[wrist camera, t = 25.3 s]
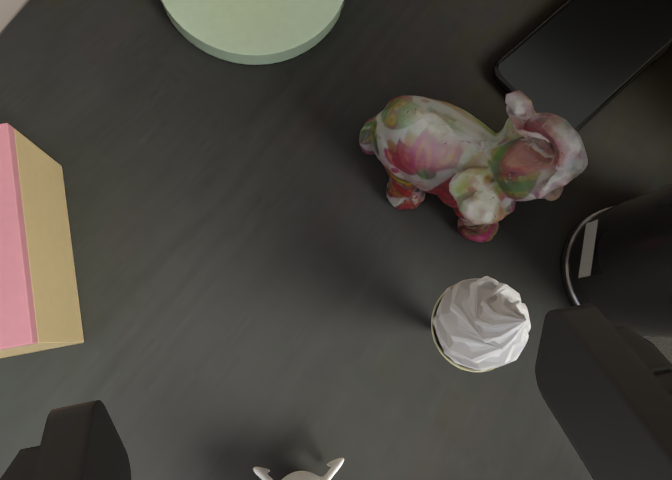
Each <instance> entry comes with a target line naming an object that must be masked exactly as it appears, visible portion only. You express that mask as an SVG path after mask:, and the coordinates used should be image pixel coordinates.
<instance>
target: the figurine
mask: <svg viewBox="0 0 672 480" xmlns="http://www.w3.org/2000/svg"><path fill="white" fill-rule="evenodd" d="M505 102H506V104H507V107H506V111H507V114H508V116H509V118H508V119H507V121H506V123H505V126H504V128H503V129H502V130H501V131H500V132H498V133H496V132H494V131H493V130H492V129H490V128H489V127H488V126H486V125H485V124H484V123H483V122H481V121H480V120H479V119H477V118H476V117H474V116H473V115H471V114H470V113H469V112H467V111H465V110H463V109H461V108H459V107H457V106H454V105H452V104H450V103H448V102H444V101H439V100H434V99H429V98H426V97H422V96H410V95H404V96H398V97H396V98H394V99H392V100H391V101H389V102H388V104H387V105H386V107H385V109H384V110H383V111H381V112H380V113H379V114H377V115H376V116H375V117H372V118H371V119H370V120H367V121H366V123H365V125H364V126H363V128H362V129H361V131H360V136H359V144H360V146H361V149H362V151H363V152H364V153H365V154H369V155H373V154H376V156H377V158H378V161H381V162H382V164H383V165H384V167H385V169H386V171H387V173H388V175H389V177H390V178H389V182H388V184H387V191H386V193H387V198H388V200H389V202H390V203H391V205H392V206H393V207H395V208H396V209H398V210H401V211H402V210H411V209H415V208H417V206H418V205H419V204H420V203H421V202H422V201H424V198H425V192H428V193H431V194H435V195H437V196H438V197H439V198H440V199H441V200H442V202H443V203H445V204H446V205H448V206H450V207H451V208H453V210H454V212H455V214H456V215H457V216H458V217H459V219H458V226H457V228H458V230H459V232H460V234H461V235H462V236H463V237H464V238H466V239H468V240H471V241H475V242H480V243H481V242H487V241H490V240H492V238H493V237H494V235H495V234H496V233H497V230H498V228H499V223H498V222H499V221H500V220H502V219H503V218H505V217H506V216H507V215H508V214H510V213H512V212H513V211H514V209H515V203H516V201H529V200H533V199H538V198H540V199H546V200H549V201H554V200H556V199H558V198H559V197H560V195H561V193H562V191H563V186H565V185H566V184H568V183H569V182H570V181H571V180H572V179H574V178H575V177H577V176H578V175H580V174H581V173H582V172H584V170H585V168H586V167H587V165H588V158H587V154H586V151H585V148H584V144H583V142H582V139H581V136H580V135H579V134H578V133H577V132H576V130H575V129H574V128H573V127H572V126H571V125H570V124H569V123H568V121H567V120H566V119H564V118H562V117H559V116H557V115H555V114H552V113H547V112H542V113H538V112H536V111H535V110H534V108H533V105H532V101H531V100H530V99H529V98H528V97H527V96H526V95H525V94H523V93H522V92H521V91H520V90H518V91H514V92H512V93H510V94H506V99H505ZM550 143H551V144H552V145H553V147H554V151H553V150H552V149H551V147H550V146H549V145H550Z"/></svg>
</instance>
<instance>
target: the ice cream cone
mask: <svg viewBox="0 0 672 480" xmlns="http://www.w3.org/2000/svg"><path fill="white" fill-rule="evenodd" d="M530 328H531V325H530V319H529V314H528V309H527V307H526V305H525V304H524V303H521V298H520V294H519V293H518V292H516V291H515V290H513V289H512V288H511V287H509V286H508V285H506V284H504V283H499V282H498V281H497V280H495V279H493V278H490V277H488V276H485V277H483V278H481V279H480V278H472V279H467V280H462V281H460V282H459V283H457V284H454V285H453V286H451V287H449V288H447V289H446V291H445V292H444V293H442V295H441V296H440V297H439V299H438V300H437V302H436V304H435V306H434V309H433V312H432V318H431V331H432V335H433V339H434V342H435V344H436V346H437V348H438V350H439V351H440V353H441V354H442V355H443V356H444V358H445V359H446V360H448V361H449V362H450V363H451V364H453V365H454V366H456V367H458V368H460V369H463V370H466V371H470V372H485V371H489V370H492V369H495V368H497V367H500V366H502V365H505V364H508V363H510V362H513V361H515V360H517V358H518V356H519V355H520V353H521V351H522V350H523V348H524V346H525V345H526V343H527V340H528V337H529V335H528V332H529V330H530Z"/></svg>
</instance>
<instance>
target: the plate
mask: <svg viewBox="0 0 672 480" xmlns="http://www.w3.org/2000/svg"><path fill="white" fill-rule="evenodd" d="M161 3H162V5H163V8H164V10H165V12H166V14H167V15H168V17H169V19H170V21H171V22H172V23H173V25H174V26H175V27H176V29H177V30H178V31H179V32H180V33H181V34H182V35H183V36H184V37H185V38H186V39H187V40H188V41H190V42H191V43H192V44H194V45H195V46H196V47H198V48H199V49H201V50H203V51H204V52H206V53H208V54H210V55H213V56H215V57H217V58H219V59H223V60H226V61H229V62H234V63H240V64H248V65H263V64H272V63H277V62H282V61H285V60H288V59H291V58H294V57H296V56H298V55H300V54H302V53H304V52H306V51H308V50H309V49H311V48H312V47H314V46H315V45H316V44H317V43H319V42H320V41H321V40H322V39H323V38H324V37H325V36H326V35H327V34H328V33H329V32H330V30H331V29H332V28H333V26H334V25H335V23H336V22H337V20H338V18H339V16H340V14H341V12H342V9H343V6H344V3H345V0H161Z"/></svg>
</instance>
